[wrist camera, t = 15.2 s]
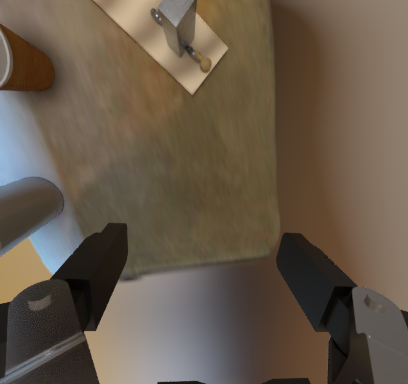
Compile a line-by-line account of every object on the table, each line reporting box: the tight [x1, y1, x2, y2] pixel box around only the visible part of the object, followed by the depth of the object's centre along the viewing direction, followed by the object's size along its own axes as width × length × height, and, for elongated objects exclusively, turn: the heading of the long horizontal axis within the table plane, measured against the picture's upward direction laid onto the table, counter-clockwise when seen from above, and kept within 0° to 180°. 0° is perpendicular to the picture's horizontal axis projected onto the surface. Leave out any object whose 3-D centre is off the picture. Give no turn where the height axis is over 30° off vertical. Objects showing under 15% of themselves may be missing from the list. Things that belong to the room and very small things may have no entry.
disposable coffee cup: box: [0, 24, 54, 91], centre depth 26 cm, size 10×10×12 cm
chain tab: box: [150, 0, 199, 62], centre depth 25 cm, size 9×4×11 cm, turn 49°
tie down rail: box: [92, 0, 228, 95], centre depth 29 cm, size 22×9×4 cm, turn 49°
